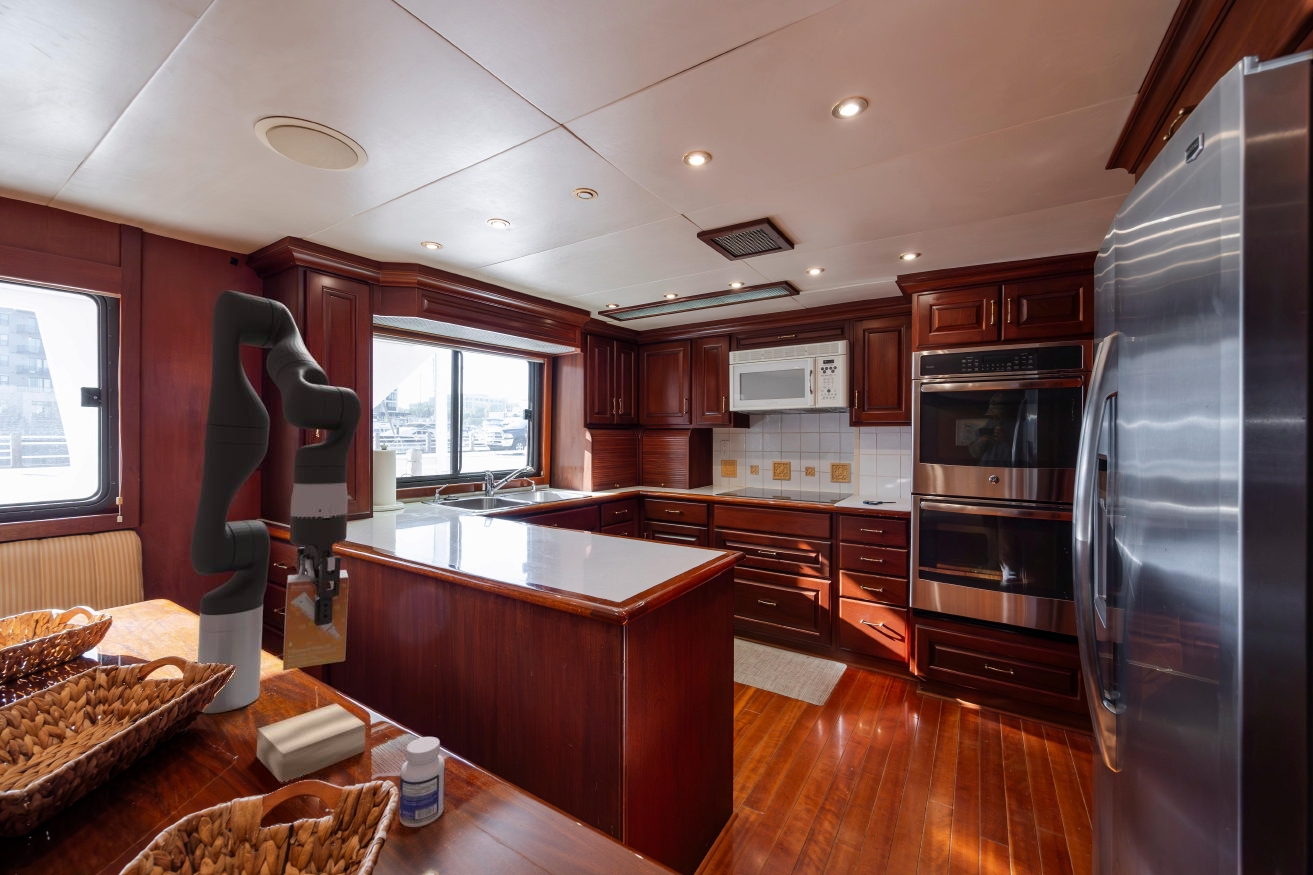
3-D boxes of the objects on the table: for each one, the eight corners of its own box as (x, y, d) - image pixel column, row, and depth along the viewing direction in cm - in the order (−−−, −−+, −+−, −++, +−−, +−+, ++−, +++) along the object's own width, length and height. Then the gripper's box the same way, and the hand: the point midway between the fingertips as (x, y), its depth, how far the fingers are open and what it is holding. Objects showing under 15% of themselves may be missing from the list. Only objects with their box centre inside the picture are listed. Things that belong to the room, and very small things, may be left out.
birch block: (256, 758, 81) (257, 728, 82) (335, 730, 90) (336, 702, 90) (282, 786, 75) (283, 753, 75) (364, 753, 83) (365, 723, 83)
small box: (282, 672, 78) (285, 582, 79) (283, 658, 83) (287, 574, 84) (346, 661, 83) (349, 576, 83) (343, 648, 88) (346, 568, 88)
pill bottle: (411, 800, 72) (413, 732, 72) (450, 801, 71) (452, 733, 72) (390, 827, 66) (392, 754, 67) (432, 829, 66) (434, 756, 66)
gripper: (280, 510, 86) (276, 614, 85) (304, 517, 76) (299, 635, 76) (332, 507, 91) (329, 605, 91) (361, 514, 82) (357, 623, 81)
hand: (315, 618), depth 83 cm, fingers closed on small box, 7 cm apart
